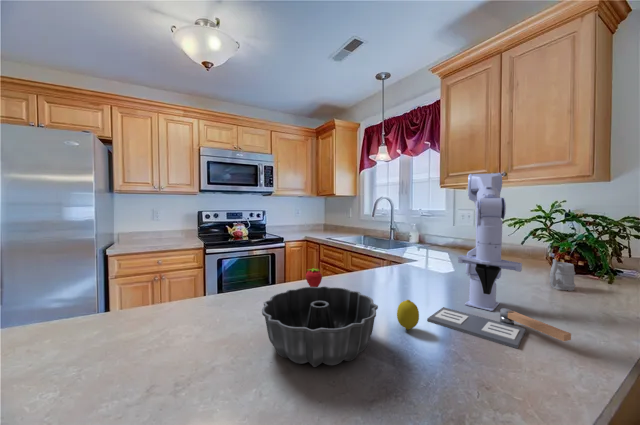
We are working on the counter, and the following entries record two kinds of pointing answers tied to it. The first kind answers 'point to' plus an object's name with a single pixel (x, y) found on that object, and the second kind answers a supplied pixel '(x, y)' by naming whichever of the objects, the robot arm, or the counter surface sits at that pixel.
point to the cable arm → (536, 324)
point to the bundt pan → (319, 324)
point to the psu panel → (479, 326)
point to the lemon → (408, 314)
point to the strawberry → (313, 277)
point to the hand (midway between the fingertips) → (487, 293)
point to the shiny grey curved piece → (506, 320)
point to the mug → (562, 276)
